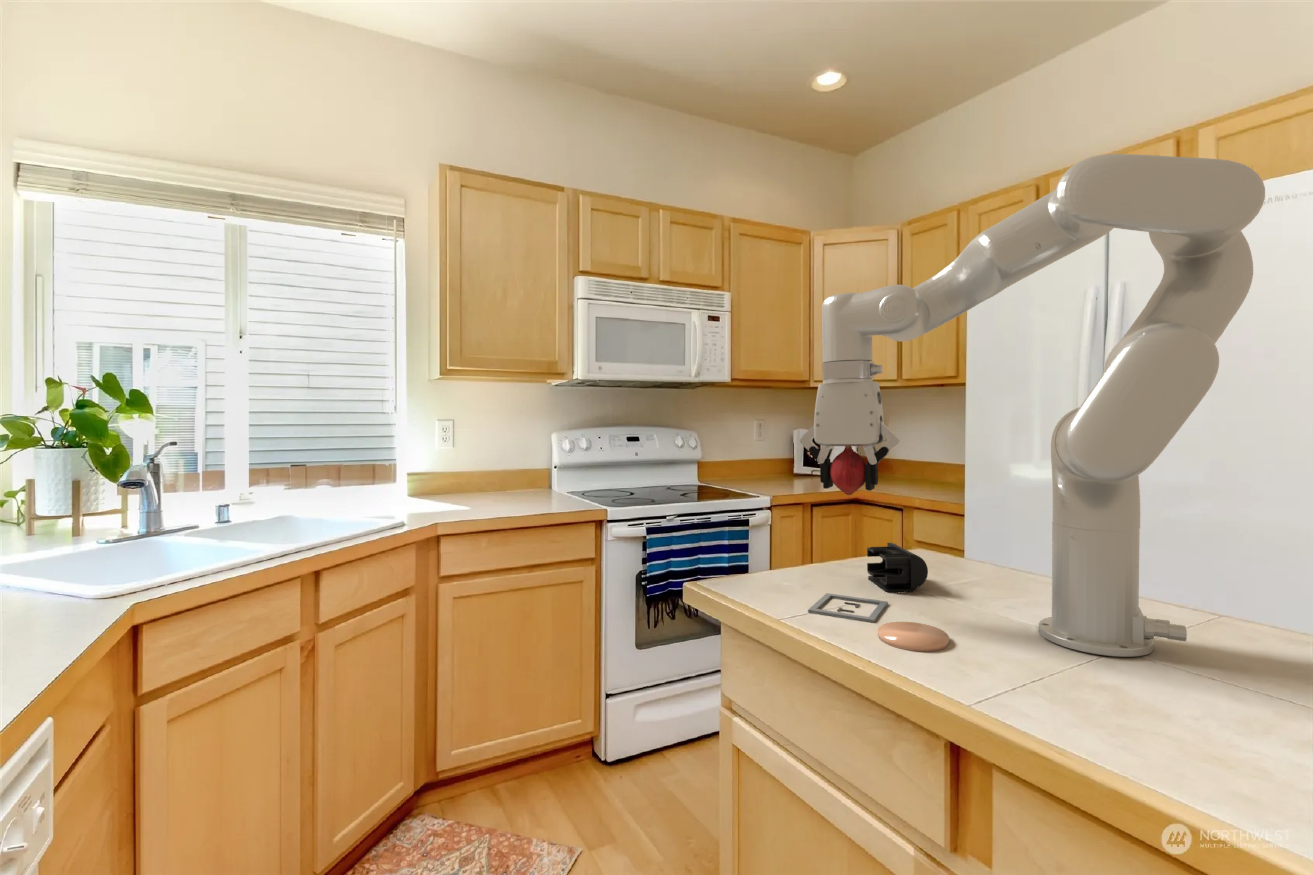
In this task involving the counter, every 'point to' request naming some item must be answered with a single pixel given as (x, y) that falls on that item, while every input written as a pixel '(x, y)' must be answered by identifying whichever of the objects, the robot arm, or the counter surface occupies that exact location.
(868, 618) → the frame
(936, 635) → the disc
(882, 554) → the end cap
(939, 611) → the counter surface
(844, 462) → the onion
